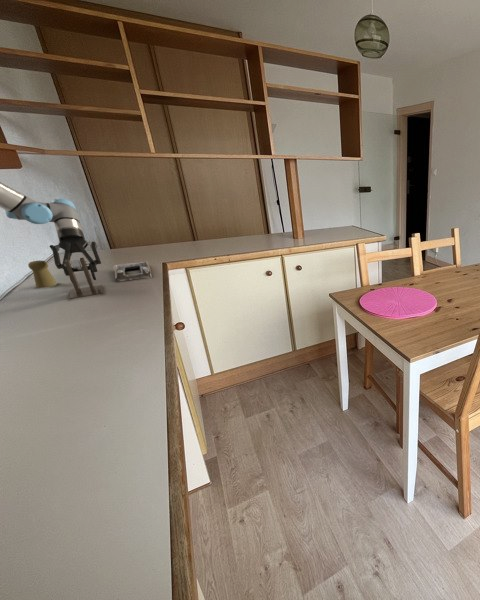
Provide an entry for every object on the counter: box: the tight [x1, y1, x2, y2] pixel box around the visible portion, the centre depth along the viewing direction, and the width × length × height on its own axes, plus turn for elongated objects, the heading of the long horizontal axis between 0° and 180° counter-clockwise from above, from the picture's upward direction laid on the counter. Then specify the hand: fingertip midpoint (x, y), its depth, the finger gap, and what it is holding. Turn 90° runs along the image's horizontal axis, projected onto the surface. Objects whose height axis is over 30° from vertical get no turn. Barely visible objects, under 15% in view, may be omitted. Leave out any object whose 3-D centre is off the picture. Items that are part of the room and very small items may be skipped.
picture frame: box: [112, 261, 152, 282], centre depth 145 cm, size 13×25×3 cm, turn 41°
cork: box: [27, 260, 58, 289], centre depth 126 cm, size 6×6×11 cm
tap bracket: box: [64, 257, 103, 300], centre depth 119 cm, size 12×9×14 cm
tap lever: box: [70, 259, 90, 273], centre depth 121 cm, size 13×6×2 cm, turn 43°
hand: (83, 279), depth 124 cm, fingers closed on tap lever, 5 cm apart
